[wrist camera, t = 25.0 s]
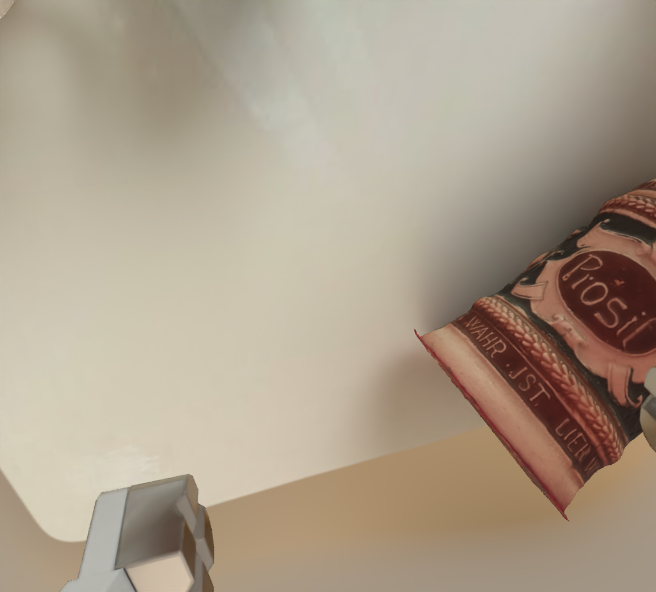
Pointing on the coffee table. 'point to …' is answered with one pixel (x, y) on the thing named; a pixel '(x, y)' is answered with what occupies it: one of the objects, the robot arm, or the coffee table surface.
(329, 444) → the coffee table surface
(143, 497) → the robot arm
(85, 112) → the coffee table surface
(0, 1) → the cup
